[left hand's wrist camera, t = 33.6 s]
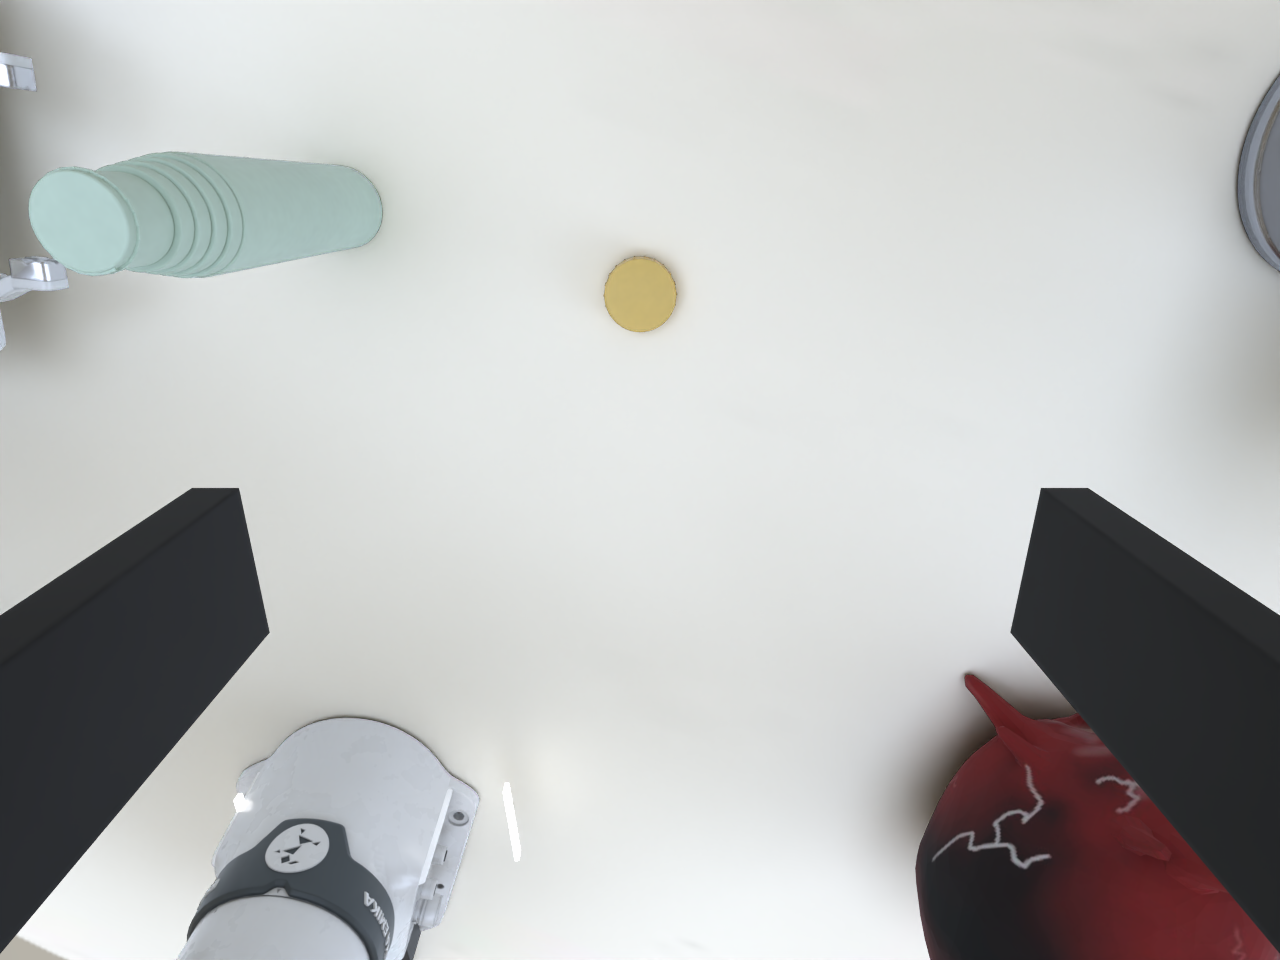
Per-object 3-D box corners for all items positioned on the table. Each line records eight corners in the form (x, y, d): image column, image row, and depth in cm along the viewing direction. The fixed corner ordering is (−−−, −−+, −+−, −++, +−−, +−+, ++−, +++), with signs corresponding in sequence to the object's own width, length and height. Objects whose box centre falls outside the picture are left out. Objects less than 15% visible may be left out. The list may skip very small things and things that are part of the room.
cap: (593, 311, 46) (592, 315, 44) (621, 243, 44) (620, 245, 43) (658, 339, 46) (658, 344, 45) (687, 273, 45) (689, 276, 43)
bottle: (290, 181, 43) (-31, 172, 22) (361, 153, 42) (99, 119, 22) (327, 258, 45) (58, 317, 24) (395, 233, 44) (181, 270, 23)
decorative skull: (1498, 876, 44) (1245, 866, 34) (1315, 1187, 48) (1044, 1253, 38) (1155, 688, 63) (934, 648, 54) (1046, 919, 67) (822, 920, 58)
